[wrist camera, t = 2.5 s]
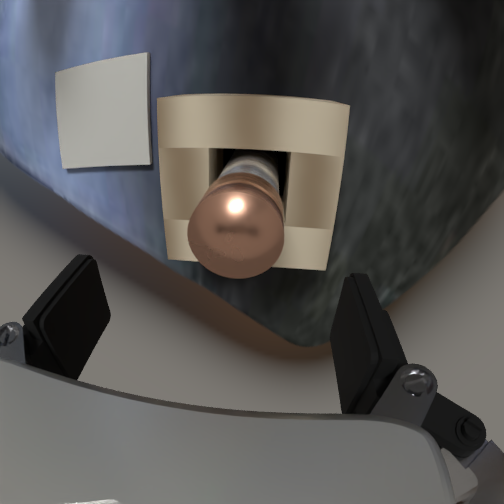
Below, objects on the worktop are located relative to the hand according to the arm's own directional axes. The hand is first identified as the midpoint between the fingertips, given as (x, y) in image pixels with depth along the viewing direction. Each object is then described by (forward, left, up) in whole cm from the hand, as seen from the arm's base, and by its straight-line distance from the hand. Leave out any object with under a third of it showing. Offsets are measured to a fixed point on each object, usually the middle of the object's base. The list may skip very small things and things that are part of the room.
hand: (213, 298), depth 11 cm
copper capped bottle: (0, 0, -17) cm, 17 cm away
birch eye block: (0, 0, -17) cm, 17 cm away
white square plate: (+14, -5, -17) cm, 22 cm away
